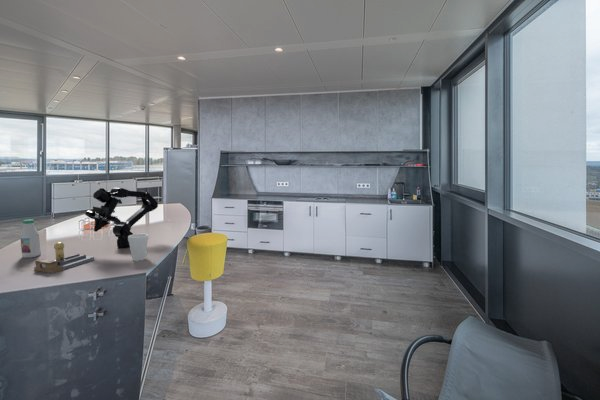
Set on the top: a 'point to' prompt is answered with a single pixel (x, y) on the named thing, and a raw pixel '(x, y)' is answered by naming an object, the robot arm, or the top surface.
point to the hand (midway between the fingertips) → (95, 231)
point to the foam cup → (138, 246)
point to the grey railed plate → (61, 263)
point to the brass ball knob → (58, 253)
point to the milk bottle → (30, 240)
